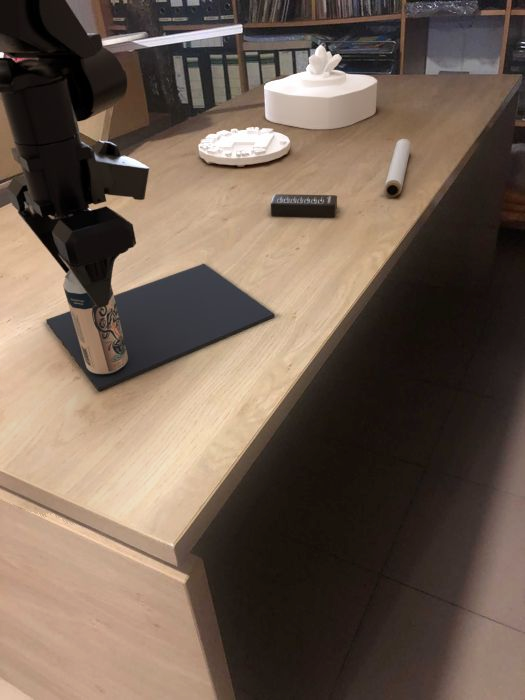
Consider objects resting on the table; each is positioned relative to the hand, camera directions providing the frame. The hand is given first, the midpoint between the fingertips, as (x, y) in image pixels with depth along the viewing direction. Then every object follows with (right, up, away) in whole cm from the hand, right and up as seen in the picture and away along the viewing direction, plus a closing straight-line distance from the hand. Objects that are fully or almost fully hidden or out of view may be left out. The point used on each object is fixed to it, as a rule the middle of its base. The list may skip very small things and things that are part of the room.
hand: (86, 288), depth 62 cm
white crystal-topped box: (+33, +54, +91) cm, 111 cm away
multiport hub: (+26, +17, +41) cm, 51 cm away
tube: (+45, +27, +53) cm, 75 cm away
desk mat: (+5, -3, +15) cm, 16 cm away
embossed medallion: (+15, +37, +68) cm, 79 cm away
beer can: (0, -8, +7) cm, 11 cm away
